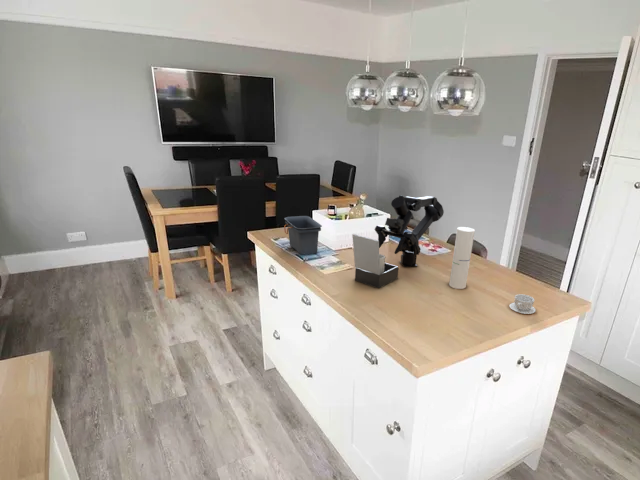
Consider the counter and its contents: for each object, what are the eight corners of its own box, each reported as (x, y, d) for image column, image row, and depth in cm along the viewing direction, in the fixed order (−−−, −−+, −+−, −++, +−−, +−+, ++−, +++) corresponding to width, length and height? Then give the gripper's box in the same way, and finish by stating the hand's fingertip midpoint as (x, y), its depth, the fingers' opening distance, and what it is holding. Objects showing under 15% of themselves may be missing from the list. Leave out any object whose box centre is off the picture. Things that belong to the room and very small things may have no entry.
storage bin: (324, 254, 205) (324, 226, 199) (294, 258, 197) (293, 228, 191) (308, 242, 221) (307, 215, 215) (279, 245, 213) (278, 217, 207)
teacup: (515, 301, 169) (517, 290, 167) (539, 309, 164) (541, 298, 162) (504, 308, 162) (507, 297, 160) (529, 317, 156) (532, 306, 154)
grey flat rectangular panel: (353, 233, 167) (352, 234, 166) (378, 240, 161) (377, 241, 160) (356, 266, 175) (354, 267, 174) (380, 274, 169) (379, 274, 169)
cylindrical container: (465, 289, 176) (474, 232, 166) (448, 287, 178) (456, 230, 167) (466, 283, 183) (475, 228, 172) (449, 281, 184) (457, 226, 173)
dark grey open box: (374, 271, 188) (375, 259, 186) (397, 278, 183) (398, 266, 180) (354, 280, 177) (355, 267, 175) (378, 288, 171) (379, 275, 169)
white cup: (384, 276, 182) (386, 254, 178) (381, 281, 176) (383, 259, 172) (371, 274, 183) (372, 253, 179) (368, 279, 177) (369, 257, 173)
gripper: (378, 206, 181) (361, 236, 178) (414, 214, 172) (398, 246, 168) (387, 221, 191) (371, 249, 187) (422, 229, 182) (406, 259, 178)
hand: (386, 251), depth 180 cm, fingers open, 9 cm apart
